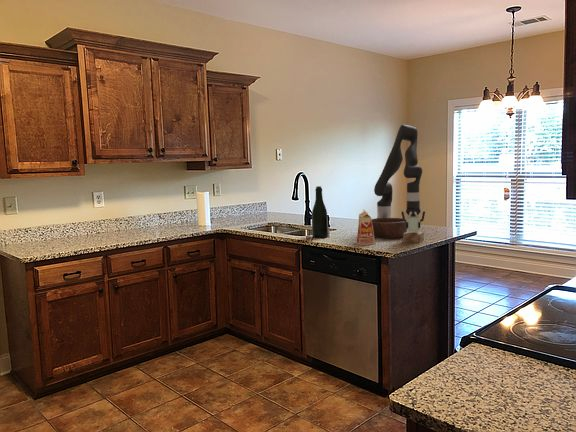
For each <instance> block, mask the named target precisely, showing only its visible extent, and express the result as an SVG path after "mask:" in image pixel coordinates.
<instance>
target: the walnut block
mask: <svg viewBox="0 0 576 432" xmlns="http://www.w3.org/2000/svg"><path fill="white" fill-rule="evenodd" d="M424 235H425V233H424V231H418V232H408V230H407V232H405V233H404V234H403V237H402V242H403V243H420V244H421V242H423V241H424V240H425V239H424V238H425V236H424Z"/></svg>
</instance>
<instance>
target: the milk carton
mask: <svg viewBox="0 0 576 432" xmlns="http://www.w3.org/2000/svg"><path fill="white" fill-rule="evenodd" d="M372 219H373V218H372V216H370V215H369V213H368V212H367V211H366V210H365V209H364V208H363V210H362V211H361V213H359V214H358V227H357V233H356V234H357V235H356V241H355V243H356V244H357V245H359V246H360V245H362V246H363V245H364V246H366V245H367V246H368V245H375V237H374V232H373V225H372Z"/></svg>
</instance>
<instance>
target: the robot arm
mask: <svg viewBox="0 0 576 432" xmlns="http://www.w3.org/2000/svg"><path fill="white" fill-rule="evenodd" d="M418 135H419V134H418V129H417V127H415V126H412V125H407V124H401V125H400V126H399V128H398V130H397V134H396V136H395V139H394V142H393V145H392V148H391V151H390V152H389V155H388V157H387V159H386V162H385V165H384V167H383V169H382V171H381V174H380V175H379V176H378V179H377V181H376V183H375V185H374V188H373V192H374V194H375V196H377V197H381V198H380V200H378V201H377V202H376V205H377V206H376V208H377V209H376V211H377V212H376V213H377V214H376V215H377V216H376V218H392V202H393V192H394V191H393V186H392V183H391V182H389V181H390V180H391V178H392V177H393V176H394V175H395V174H396V173H397V172H398V171H399V169H400V167H401V165H402V163H403V160H404V161H405V163H404V164H405V166H404V169H403V176H404V178H406V179H414V180H413V181H409V182H408V183H407V184H406V210H402V211H401V218H403V221H405V222H406V227H407V230H408V217H410V216H416V217H418V230H419V229H420V228H421V223H422V222H424V221H425V216H426V215H425V214H426V211H425V210H421V199H420V198H421V196H420V183H421V177H422V175H423V168H422V167H421V166H420V165H418V162H419V161H418V160H419V159H418V154H417V153H418V151H417V149H418V148H417V147H418ZM402 141H407V142H410V144H409V146H408V147H407V149H406V150H405V152H404V159H403V153H402V148H401V147H402V146H401V144H402ZM406 214H407V218H406V216H405V215H406ZM420 214H421V217H419V215H420ZM406 219H407V220H406Z"/></svg>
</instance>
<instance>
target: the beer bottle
mask: <svg viewBox="0 0 576 432" xmlns="http://www.w3.org/2000/svg"><path fill="white" fill-rule="evenodd" d="M314 201H315V202H314V205H313V207H312V211H311V236H312V237H313V238H315V239H325V238H328V236H329V221H328V211H327V208H326V205H325V202H324V197H323V188H322V186H321V185H320V186H319V185H317V186H315V200H314Z"/></svg>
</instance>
